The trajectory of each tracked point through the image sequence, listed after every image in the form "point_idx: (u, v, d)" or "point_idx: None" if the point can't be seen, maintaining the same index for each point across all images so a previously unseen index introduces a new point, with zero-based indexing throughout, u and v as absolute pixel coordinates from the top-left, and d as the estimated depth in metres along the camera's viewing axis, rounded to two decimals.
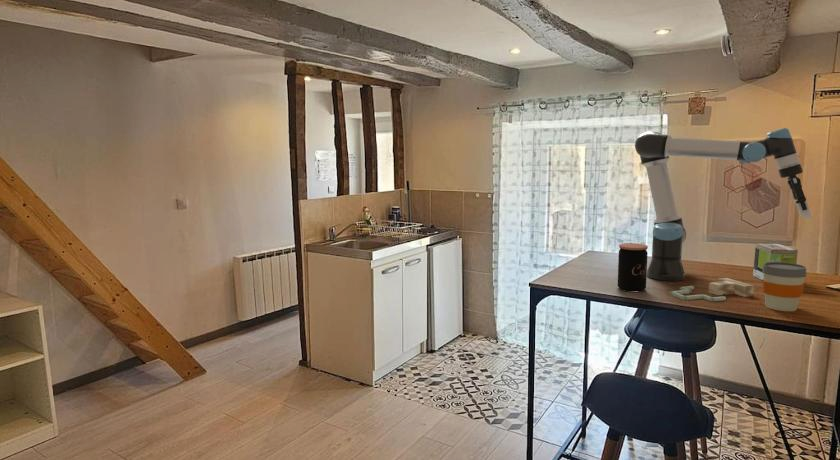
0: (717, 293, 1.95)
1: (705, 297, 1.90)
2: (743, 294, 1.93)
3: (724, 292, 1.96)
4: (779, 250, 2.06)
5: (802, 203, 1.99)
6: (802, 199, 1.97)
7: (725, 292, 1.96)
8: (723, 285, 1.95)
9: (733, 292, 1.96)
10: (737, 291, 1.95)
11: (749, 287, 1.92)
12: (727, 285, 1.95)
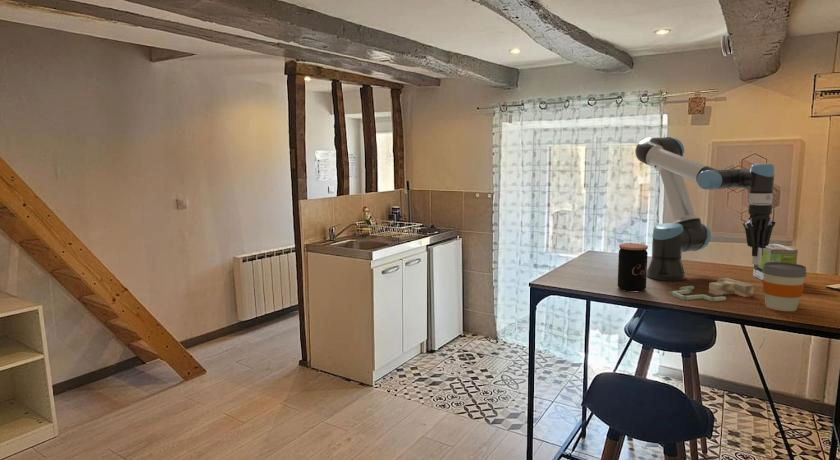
0: (717, 293, 1.95)
1: (705, 297, 1.90)
2: (743, 294, 1.93)
3: (724, 292, 1.96)
4: (779, 250, 2.06)
5: (753, 249, 1.98)
6: (750, 245, 1.97)
7: (725, 292, 1.96)
8: (723, 285, 1.95)
9: (733, 292, 1.96)
10: (737, 291, 1.95)
11: (749, 287, 1.92)
12: (727, 285, 1.95)
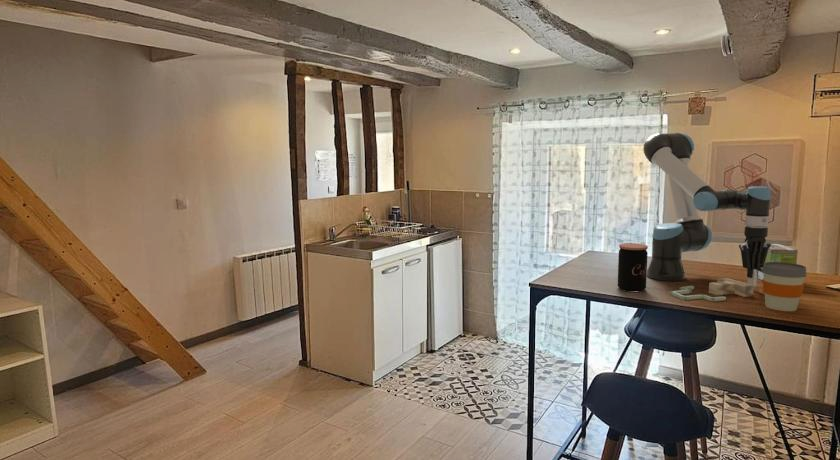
0: (717, 293, 1.95)
1: (705, 297, 1.90)
2: (743, 294, 1.93)
3: (724, 292, 1.96)
4: (779, 250, 2.06)
5: (748, 270, 1.99)
6: (746, 266, 1.98)
7: (725, 292, 1.96)
8: (723, 285, 1.95)
9: (733, 292, 1.96)
10: (737, 291, 1.95)
11: (749, 287, 1.92)
12: (727, 285, 1.95)
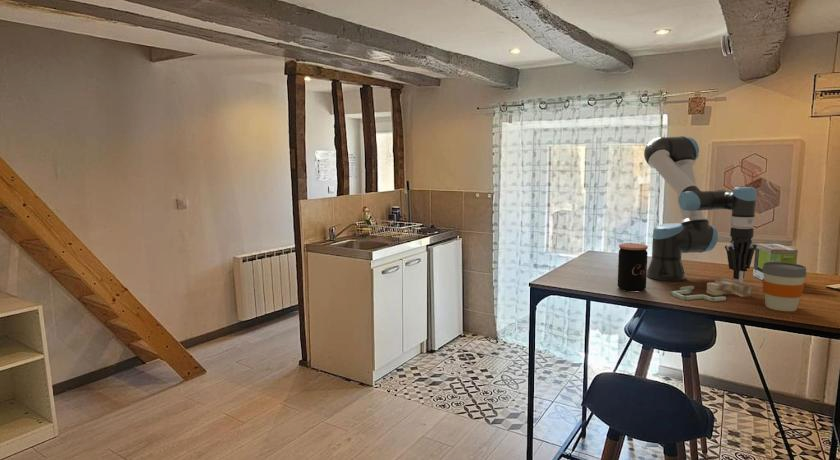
0: (715, 293, 1.95)
1: (705, 297, 1.90)
2: (741, 294, 1.92)
3: (722, 292, 1.95)
4: (779, 250, 2.06)
5: (734, 271, 1.98)
6: (732, 268, 1.97)
7: (723, 292, 1.95)
8: (721, 285, 1.95)
9: (731, 292, 1.96)
10: (735, 291, 1.95)
11: (747, 287, 1.92)
12: (725, 285, 1.95)
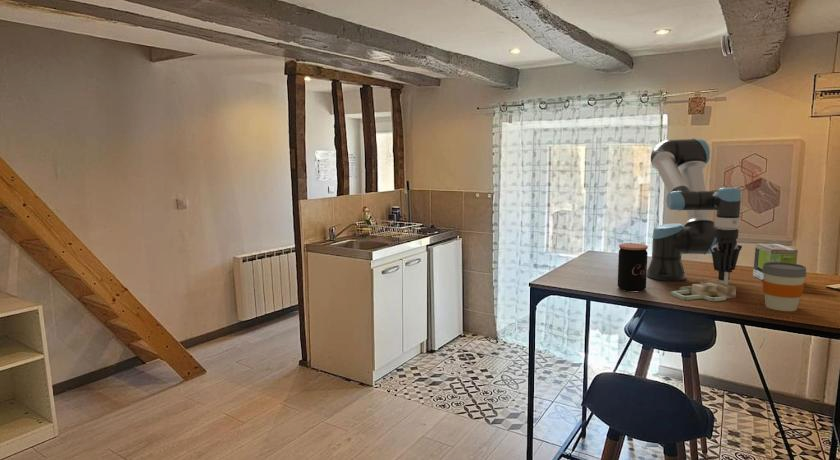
0: None
1: (705, 297, 1.90)
2: (726, 296, 1.91)
3: (707, 294, 1.94)
4: (779, 250, 2.06)
5: (719, 273, 1.96)
6: (717, 269, 1.95)
7: (708, 294, 1.94)
8: (706, 287, 1.93)
9: (716, 294, 1.95)
10: (720, 293, 1.93)
11: (731, 289, 1.90)
12: (710, 287, 1.93)
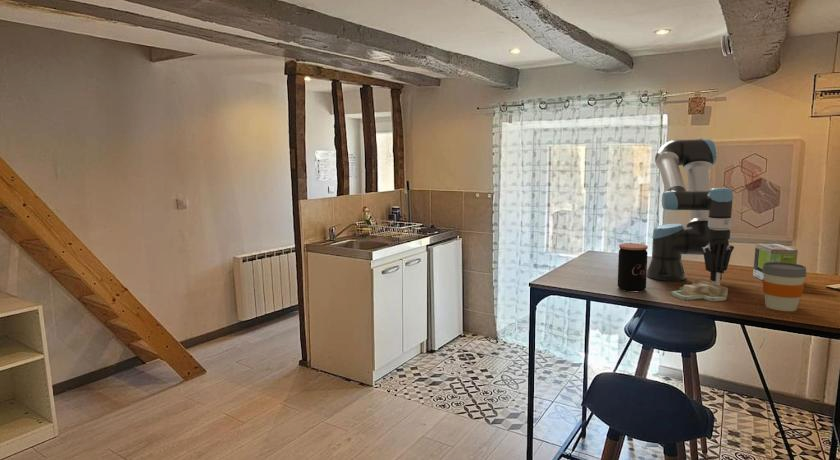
0: None
1: (705, 297, 1.90)
2: None
3: None
4: (779, 250, 2.06)
5: (711, 273, 1.96)
6: (708, 269, 1.95)
7: None
8: (697, 287, 1.92)
9: (707, 294, 1.94)
10: (711, 293, 1.92)
11: (723, 289, 1.90)
12: (701, 287, 1.93)
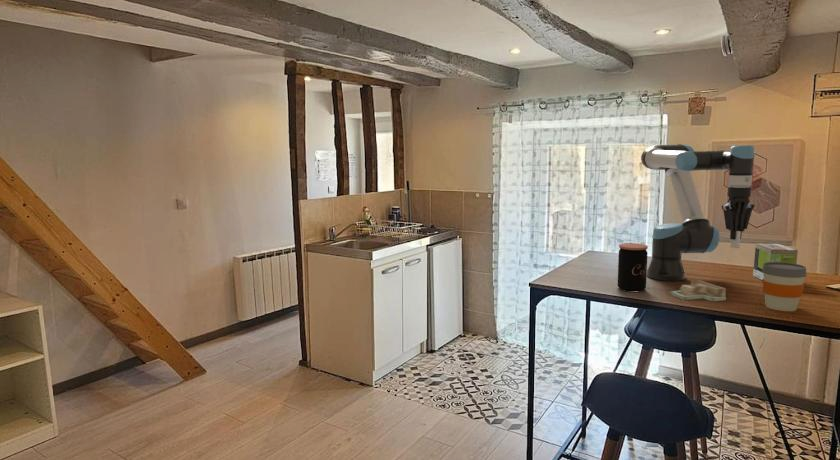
0: None
1: (705, 297, 1.90)
2: None
3: None
4: (779, 250, 2.06)
5: (731, 232, 1.95)
6: (728, 228, 1.94)
7: None
8: (695, 288, 1.92)
9: None
10: (709, 294, 1.92)
11: (721, 290, 1.89)
12: (699, 288, 1.92)
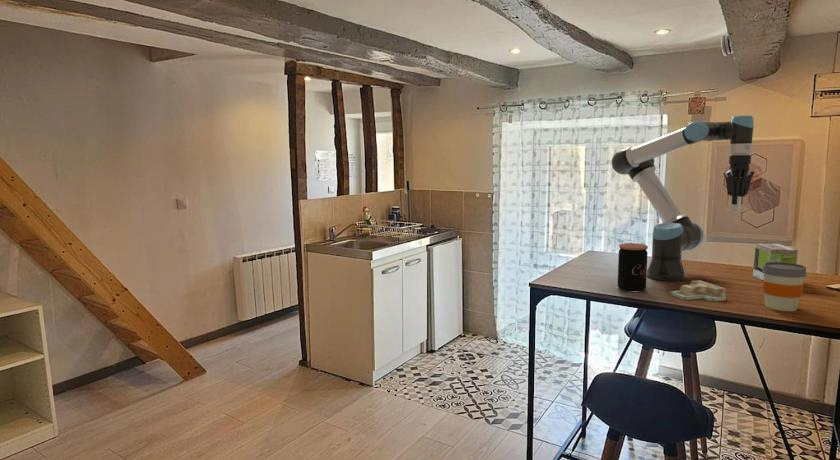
0: None
1: (705, 297, 1.90)
2: None
3: None
4: (779, 250, 2.06)
5: (733, 197, 2.08)
6: (730, 193, 2.07)
7: None
8: (695, 288, 1.92)
9: None
10: (709, 294, 1.92)
11: (721, 290, 1.89)
12: (699, 288, 1.92)
